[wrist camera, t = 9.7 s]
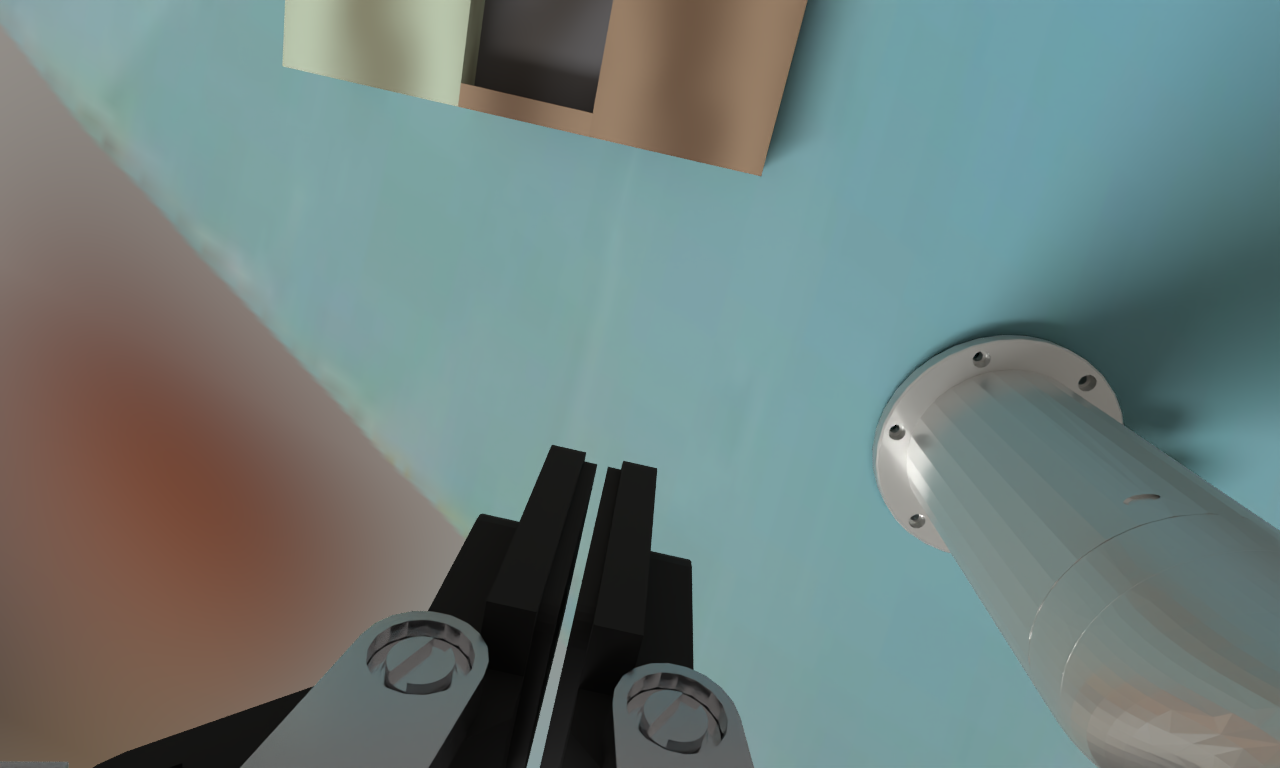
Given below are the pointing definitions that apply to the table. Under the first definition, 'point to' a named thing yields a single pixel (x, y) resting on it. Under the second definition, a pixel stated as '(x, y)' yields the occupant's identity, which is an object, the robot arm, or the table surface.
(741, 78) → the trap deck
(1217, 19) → the table surface
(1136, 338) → the table surface
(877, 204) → the table surface
